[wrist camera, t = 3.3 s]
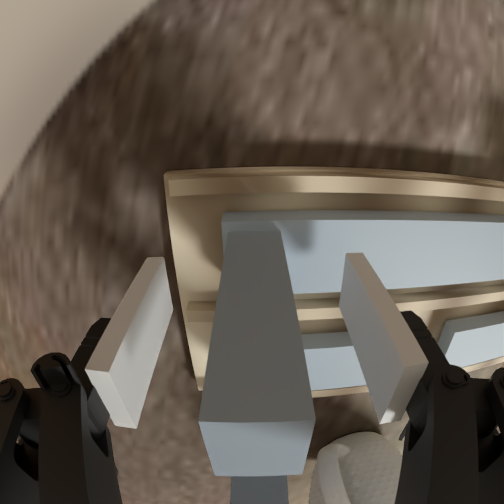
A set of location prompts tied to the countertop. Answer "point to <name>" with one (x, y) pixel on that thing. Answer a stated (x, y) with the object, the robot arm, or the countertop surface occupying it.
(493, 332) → the broken strip
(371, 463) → the mug
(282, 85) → the countertop surface
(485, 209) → the lane board
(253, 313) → the strip
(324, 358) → the broken strip
